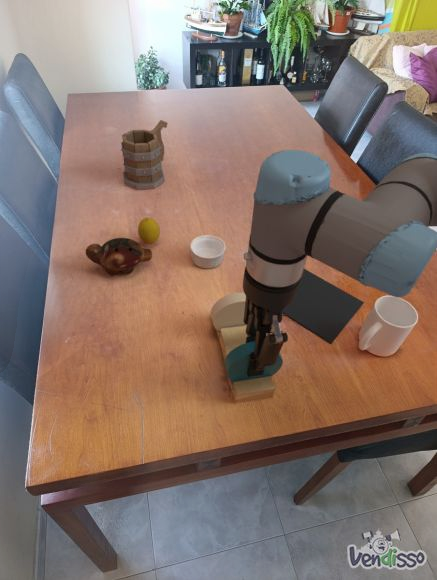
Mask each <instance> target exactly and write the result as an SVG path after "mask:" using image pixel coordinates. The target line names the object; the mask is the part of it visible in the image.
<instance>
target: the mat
mask: <svg viewBox="0 0 437 580" xmlns="http://www.w3.org/2000/svg"><path fill="white" fill-rule="evenodd" d="M364 304H365V302H364V301H363V300H362V299H359V298H358V297H356V296H354V295H352V294H350V293H349V292H347V291H345V290H344V289H341V288H340V287H338V286H336V285H334V284H332V283H331V282H329V281H327V280H325V279H323V278H322V277H320V276H318V275H317V274H315V273H312V272H311V271H310V270H308V269H306V268H304V270H303V273H302V277H301V278H300V283H299V286H298V290H297V293H296V296H295V298H294V300H293V301H292V302H291V303H290V304H289V305H287V306H286V307H285V308H284V309H283V314H282V315H283V316H286V317H287V318H288V319H290V320H292V321H293V322H294V323H297V324H298V325H299V326H301V327H302V328H303V329H306V330H307V331H309V332H311V334H313V335H315V336H317V337H318V338H320V339H321V340H323V341H325V342H327V343H328V344H329V345H332V344H333V342H334V341H335V340H336V339H337V337H338V336H340V334H341V332H342V331H343V330H344V329H345V327H346V326H347V325H348V324H349V322H350V321H351V320H352V319H353V317H354V316H355V315H356V313H358V312H359V310H360V309H361V307H362V306H363V305H364Z"/></svg>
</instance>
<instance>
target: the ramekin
mask: <svg viewBox="0 0 437 580" xmlns="http://www.w3.org/2000/svg"><path fill="white" fill-rule="evenodd" d="M189 248H190V252H191V254H190V255H191V260H192V262H193V263H194V264H195V265H196V266H197V267H200V268H202V269H215V268H216V267H219V266H220V265H221V264H222V262H223V260H224V255H225V253H226V249H227V244H226V243H225V241H224V240H223V239H221V238H220V237H218V236H216V235H212V234H203V235H198V236H196V237H195V238H193V239H192V240H191V241H190V243H189Z"/></svg>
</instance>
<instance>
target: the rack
mask: <svg viewBox="0 0 437 580" xmlns="http://www.w3.org/2000/svg"><path fill="white" fill-rule="evenodd" d="M246 327H247V325H245V326H237V327H229V328H221V329H220V331H218V330H217V329H216V328H215V331H216V335H217V339H218V340H219V344H220V347H221V353H222V356H223V360H224V361H225V358H226V356H227V355H228V354H229V352H231V351H232V350H233V349H234V348H236V347H238V346H240V345H242V344H244V343H246V337H247V336H248V335H247V334H246ZM227 381H228V385H229V388H230V391H231V393H232V396H233V401H234V405H235V404H241V403H247V402H254V401H260V400H267V399H272V398H273V395H274V393H275V390H276V386H275V383H274V380H273V376H268V377H261V378H254V379H248V380H241V381H235V382H233V381H231V380H230V379H229V378H228V377H227Z"/></svg>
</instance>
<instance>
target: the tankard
mask: <svg viewBox="0 0 437 580" xmlns="http://www.w3.org/2000/svg"><path fill="white" fill-rule="evenodd" d="M167 127H168V122H167V121H164V120H162V119H160V120H159V121H158V123H157V124H156V125H155V126H154V128H153V129H151V130H148V129H132V130H129V131H126V132H125V133H123V134H122V135H121V138H122V141H121V142H120V144H121V149H120V151H121V153H122V157H123V159H122V160H123V163H122V165H123V167H124V171H122V175H123V184H124V185H125V186H127V187H130V188H132V189H134V190H137V191H143V190H154V189H156V188H158V187H159V186H161V185H163V183H165V182H166V180H165V179H166V178H165V174H164V171H163V168H162V162H163V160H164V156H165V145H164V142H163V139H162V130H163V128H165V129H166V128H167Z"/></svg>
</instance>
